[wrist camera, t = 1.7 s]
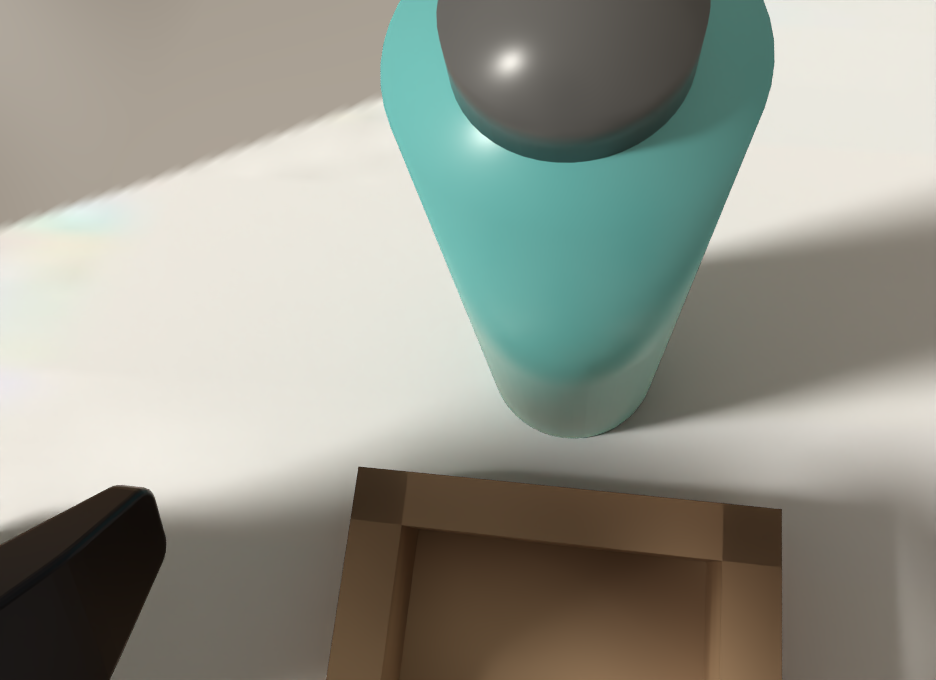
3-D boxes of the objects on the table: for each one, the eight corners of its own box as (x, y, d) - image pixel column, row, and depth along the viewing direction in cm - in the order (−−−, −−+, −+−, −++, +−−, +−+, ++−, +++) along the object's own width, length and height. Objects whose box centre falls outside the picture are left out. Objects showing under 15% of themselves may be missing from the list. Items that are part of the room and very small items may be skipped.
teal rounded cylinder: (573, 472, 20) (574, 285, 7) (460, 359, 21) (280, 22, 8) (688, 357, 20) (892, -21, 7) (570, 254, 22) (567, -223, 9)
